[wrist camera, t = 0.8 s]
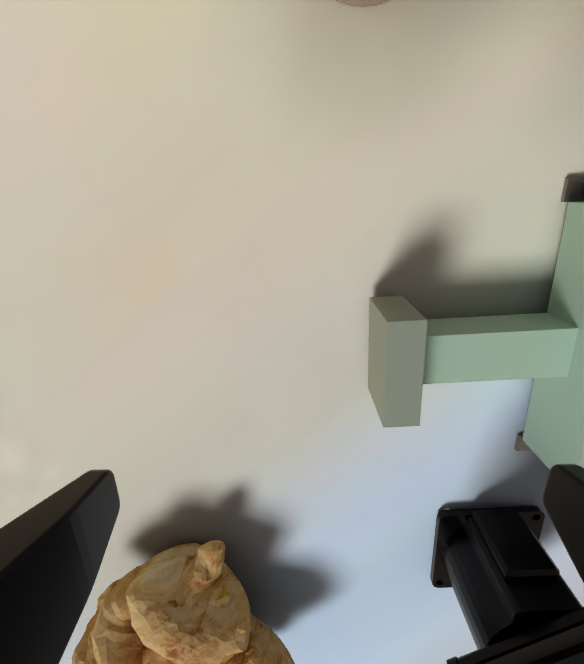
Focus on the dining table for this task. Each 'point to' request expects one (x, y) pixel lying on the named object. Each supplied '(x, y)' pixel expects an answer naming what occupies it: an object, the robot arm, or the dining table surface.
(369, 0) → the coffee cup
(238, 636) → the ginger root
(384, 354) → the cart
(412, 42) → the dining table surface
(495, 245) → the dining table surface
